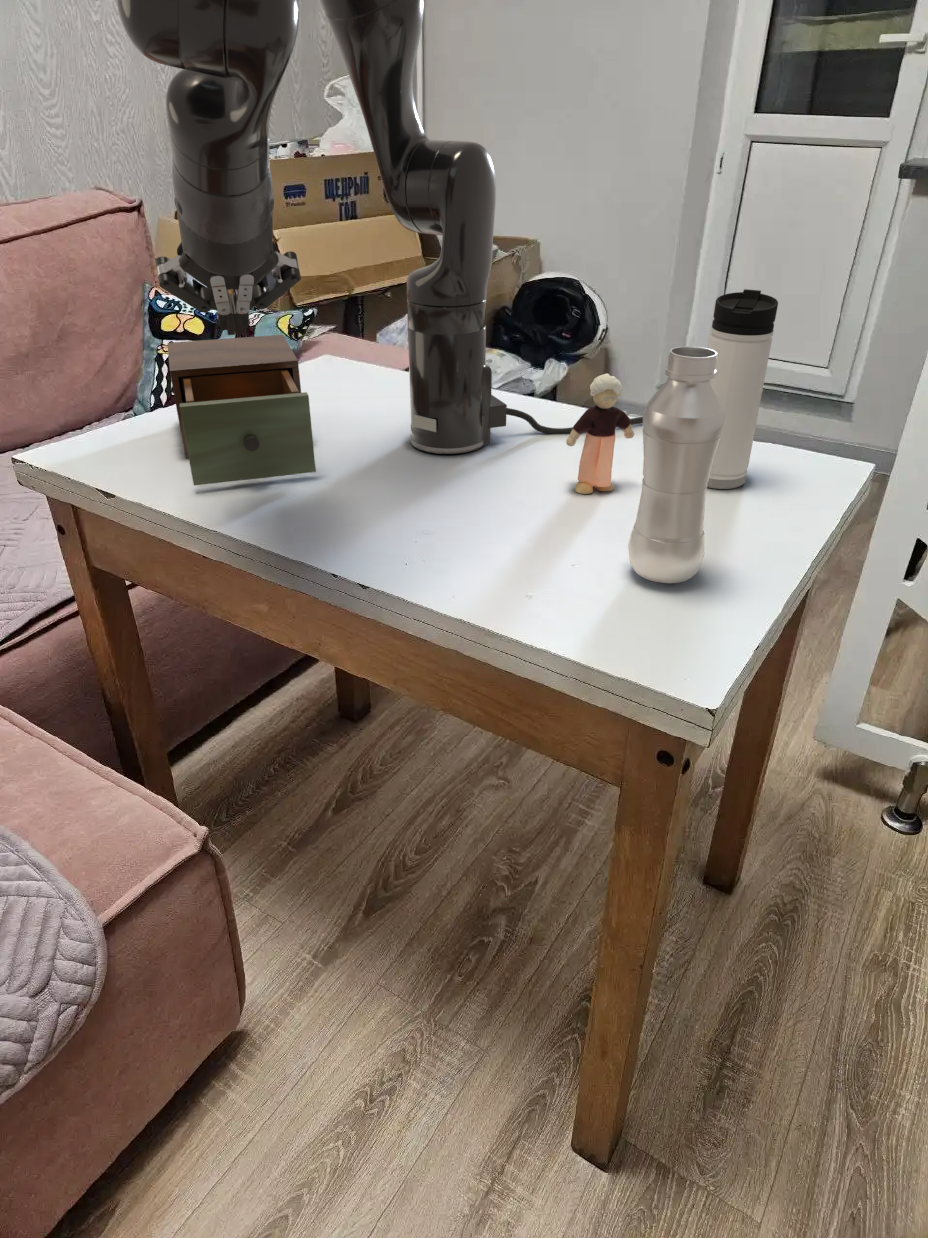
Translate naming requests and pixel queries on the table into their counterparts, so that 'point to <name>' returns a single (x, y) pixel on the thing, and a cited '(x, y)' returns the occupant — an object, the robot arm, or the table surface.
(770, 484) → the table surface
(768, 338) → the travel mug
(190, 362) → the cabinet
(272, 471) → the drawer
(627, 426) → the grandmother figurine
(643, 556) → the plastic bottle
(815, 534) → the table surface
